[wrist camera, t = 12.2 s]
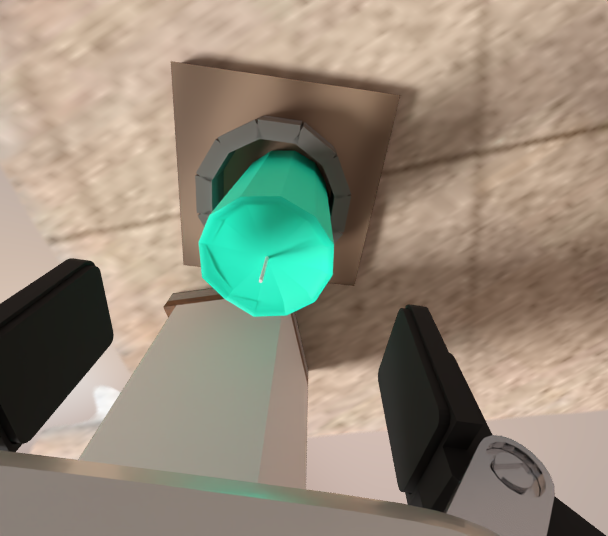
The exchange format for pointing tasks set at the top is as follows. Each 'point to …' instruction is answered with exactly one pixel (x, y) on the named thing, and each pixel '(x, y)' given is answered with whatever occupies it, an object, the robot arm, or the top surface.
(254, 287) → the candle
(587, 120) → the top surface
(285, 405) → the tall banded pillar
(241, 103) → the candle stand
